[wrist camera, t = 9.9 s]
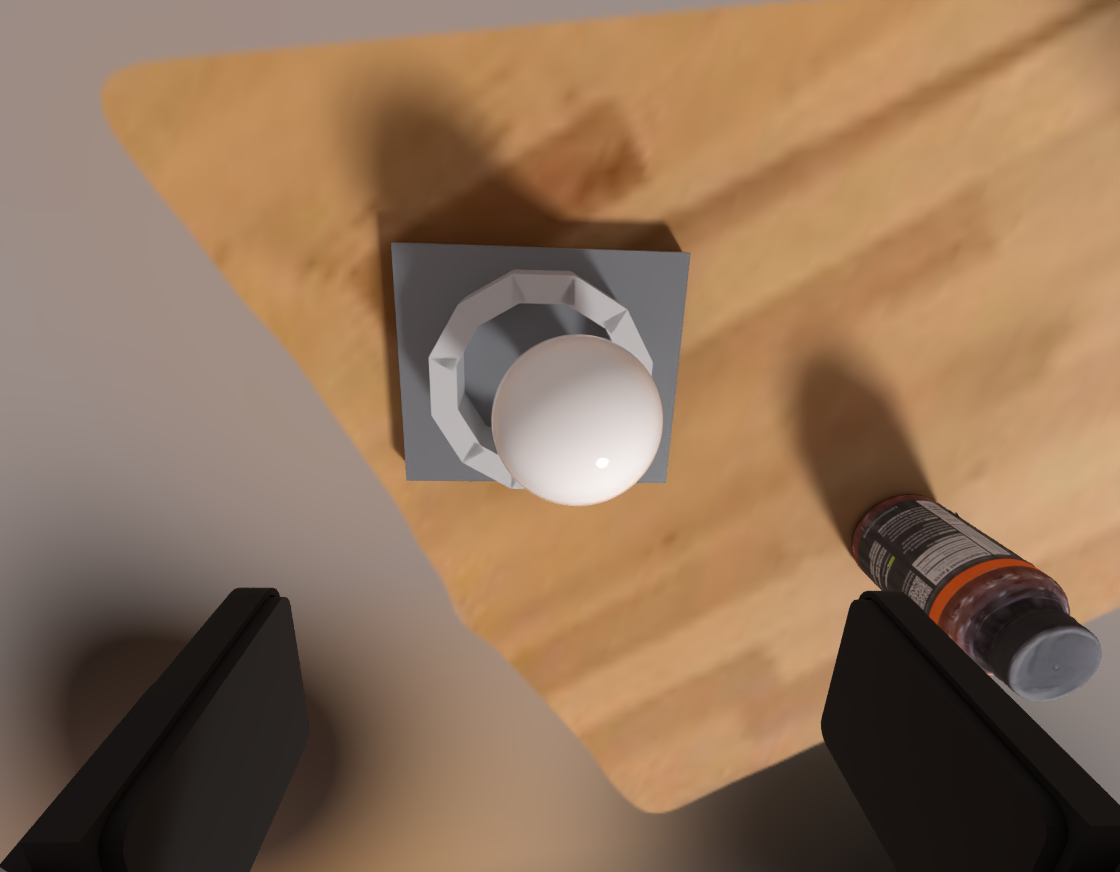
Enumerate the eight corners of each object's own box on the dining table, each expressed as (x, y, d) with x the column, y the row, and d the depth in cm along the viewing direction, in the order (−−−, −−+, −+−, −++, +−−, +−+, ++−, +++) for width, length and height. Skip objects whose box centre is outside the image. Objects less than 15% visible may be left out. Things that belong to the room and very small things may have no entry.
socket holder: (682, 251, 28) (709, 255, 24) (659, 471, 32) (679, 508, 28) (398, 242, 27) (374, 244, 23) (412, 469, 31) (393, 506, 27)
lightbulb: (505, 299, 27) (496, 342, 17) (634, 315, 28) (702, 366, 17) (493, 423, 29) (478, 530, 19) (613, 436, 30) (663, 545, 19)
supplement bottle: (949, 556, 35) (1130, 696, 25) (857, 588, 36) (995, 739, 25) (936, 475, 33) (1126, 591, 23) (838, 510, 34) (979, 639, 23)
